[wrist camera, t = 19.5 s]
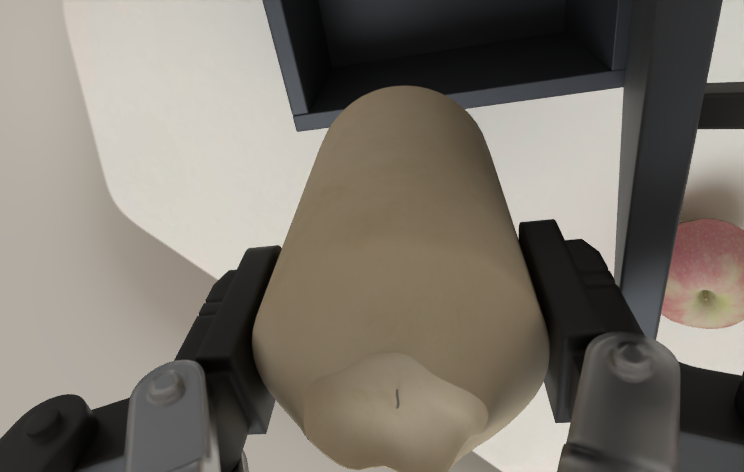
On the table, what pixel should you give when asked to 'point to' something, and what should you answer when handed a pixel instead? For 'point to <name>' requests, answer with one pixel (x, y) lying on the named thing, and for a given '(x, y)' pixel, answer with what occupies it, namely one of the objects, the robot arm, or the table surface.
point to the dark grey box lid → (663, 139)
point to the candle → (401, 292)
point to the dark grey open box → (445, 50)
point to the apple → (706, 275)
